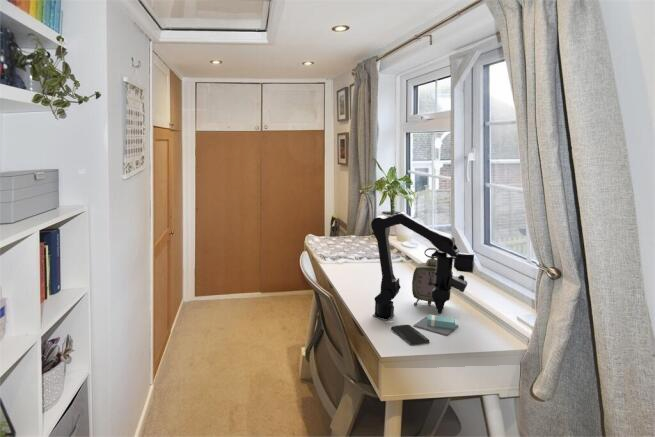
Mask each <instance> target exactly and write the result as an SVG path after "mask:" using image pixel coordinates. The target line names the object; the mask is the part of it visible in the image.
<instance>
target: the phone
mask: <svg viewBox="0 0 655 437" xmlns="http://www.w3.org/2000/svg"><path fill="white" fill-rule="evenodd" d="M390 330H391V331H392V332H394V333H395V334H396V335H397V336H398V337H400V339H402V340H403V341H404V342H406V343H407V344H408V345H409V346H420V345H425V344H426V345H427V344H430V339H429V338H427V337H426V336H425V335H424V334H422V333H421V332H419V331H418V330H417V329H415V328H414V326H412V325H410V324H400V325H392V326H391V327H390Z"/></svg>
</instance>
